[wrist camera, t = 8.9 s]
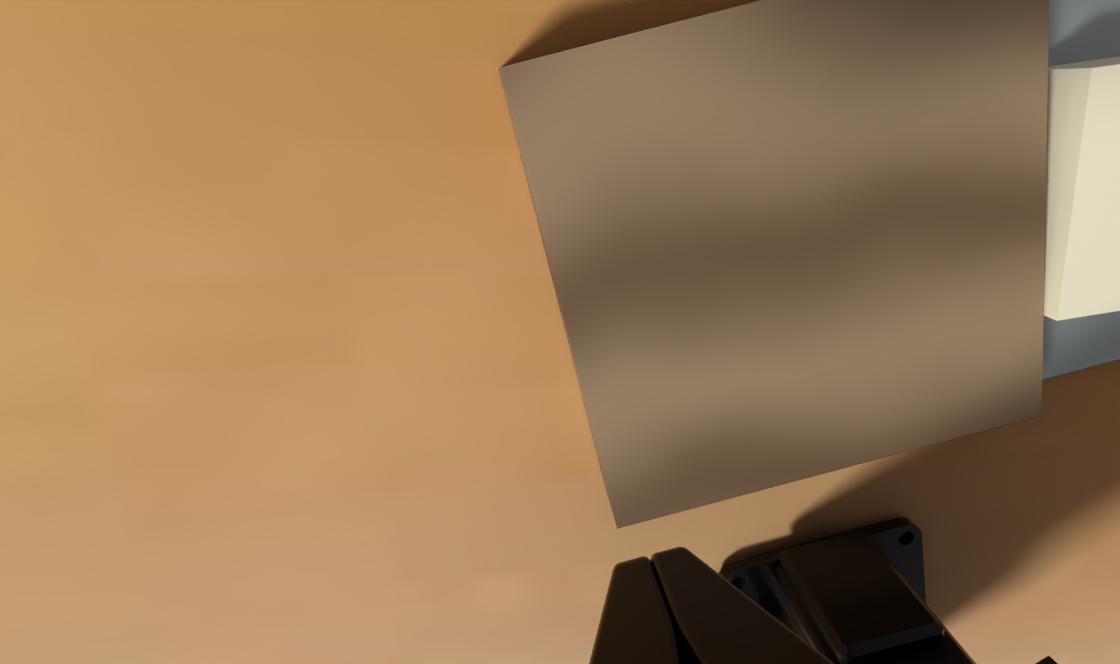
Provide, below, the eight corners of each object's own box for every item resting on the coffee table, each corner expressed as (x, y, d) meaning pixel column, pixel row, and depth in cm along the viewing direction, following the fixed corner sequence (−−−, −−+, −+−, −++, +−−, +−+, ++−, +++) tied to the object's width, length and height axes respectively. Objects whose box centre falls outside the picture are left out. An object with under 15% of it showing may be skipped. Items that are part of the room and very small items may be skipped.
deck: (991, 385, 21) (1041, 415, 19) (605, 488, 20) (617, 528, 19) (986, -57, 16) (1050, -75, 14) (498, 68, 16) (500, 67, 14)
